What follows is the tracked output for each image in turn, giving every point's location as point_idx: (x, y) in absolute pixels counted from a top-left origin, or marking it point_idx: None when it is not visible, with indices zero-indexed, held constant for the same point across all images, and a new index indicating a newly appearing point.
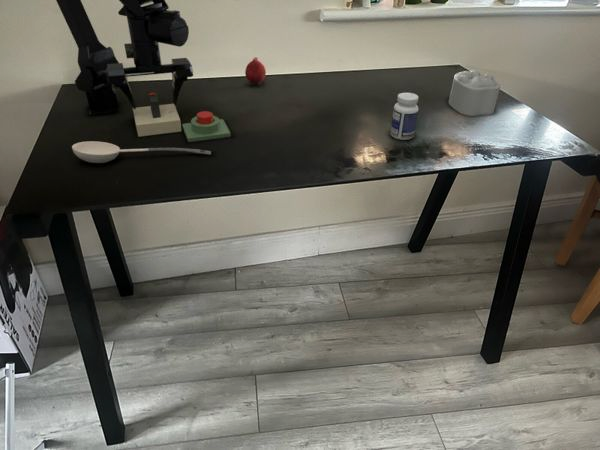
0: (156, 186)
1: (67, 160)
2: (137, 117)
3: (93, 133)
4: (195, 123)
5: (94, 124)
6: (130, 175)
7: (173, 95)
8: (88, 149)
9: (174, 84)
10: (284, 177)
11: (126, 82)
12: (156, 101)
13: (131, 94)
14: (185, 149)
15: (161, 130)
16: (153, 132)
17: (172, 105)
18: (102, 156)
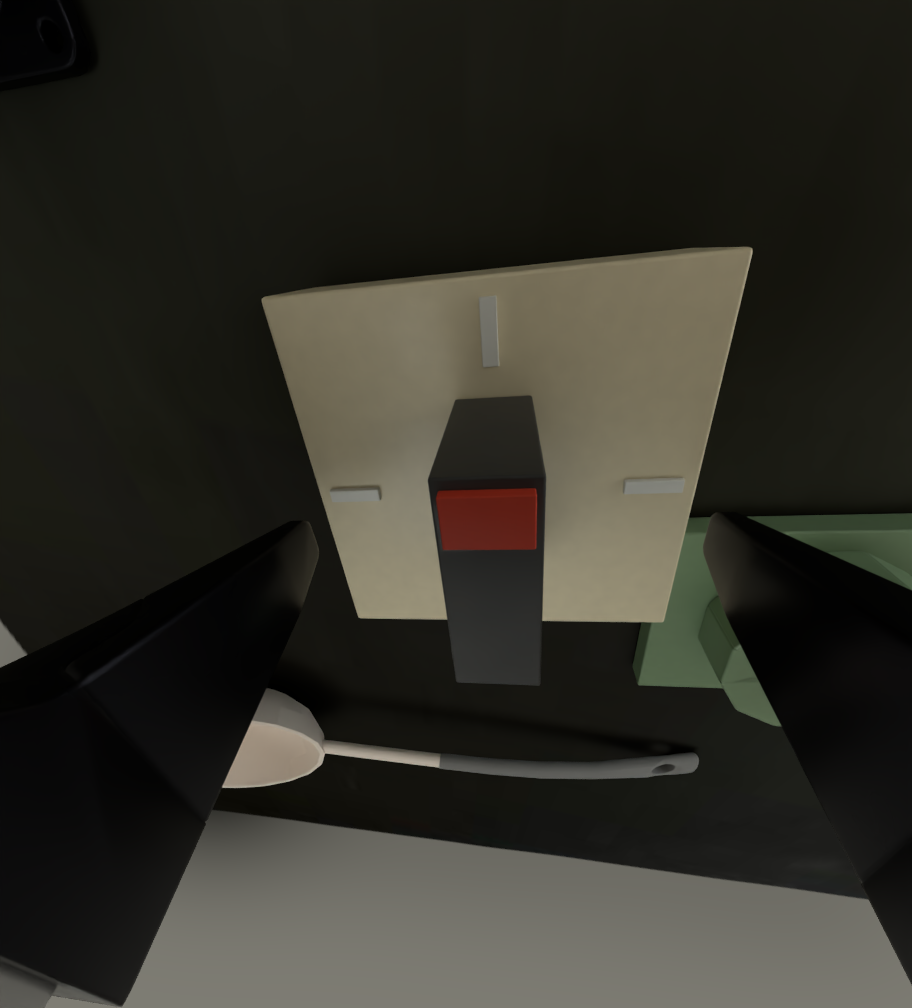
0: (463, 818)
1: None
2: (349, 522)
3: (110, 465)
4: (744, 686)
5: (36, 323)
6: (385, 771)
7: (766, 640)
8: None
9: (910, 931)
10: (849, 879)
11: (50, 978)
12: (518, 684)
13: (231, 762)
14: (593, 778)
15: None
16: None
17: (709, 317)
18: (271, 775)
